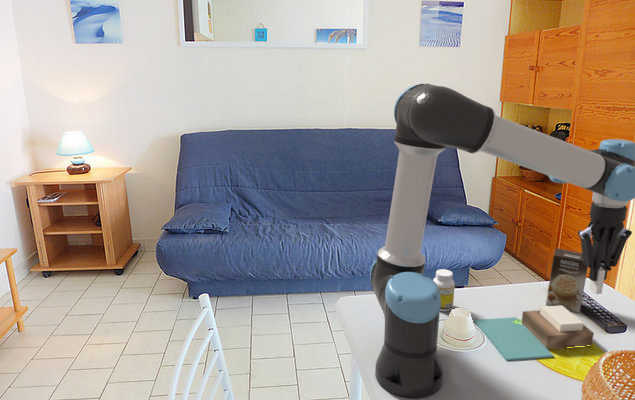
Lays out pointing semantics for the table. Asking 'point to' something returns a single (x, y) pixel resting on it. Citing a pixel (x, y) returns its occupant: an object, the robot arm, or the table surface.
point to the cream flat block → (561, 318)
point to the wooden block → (555, 332)
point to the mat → (512, 339)
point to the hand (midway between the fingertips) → (595, 291)
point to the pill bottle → (445, 288)
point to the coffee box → (567, 280)
